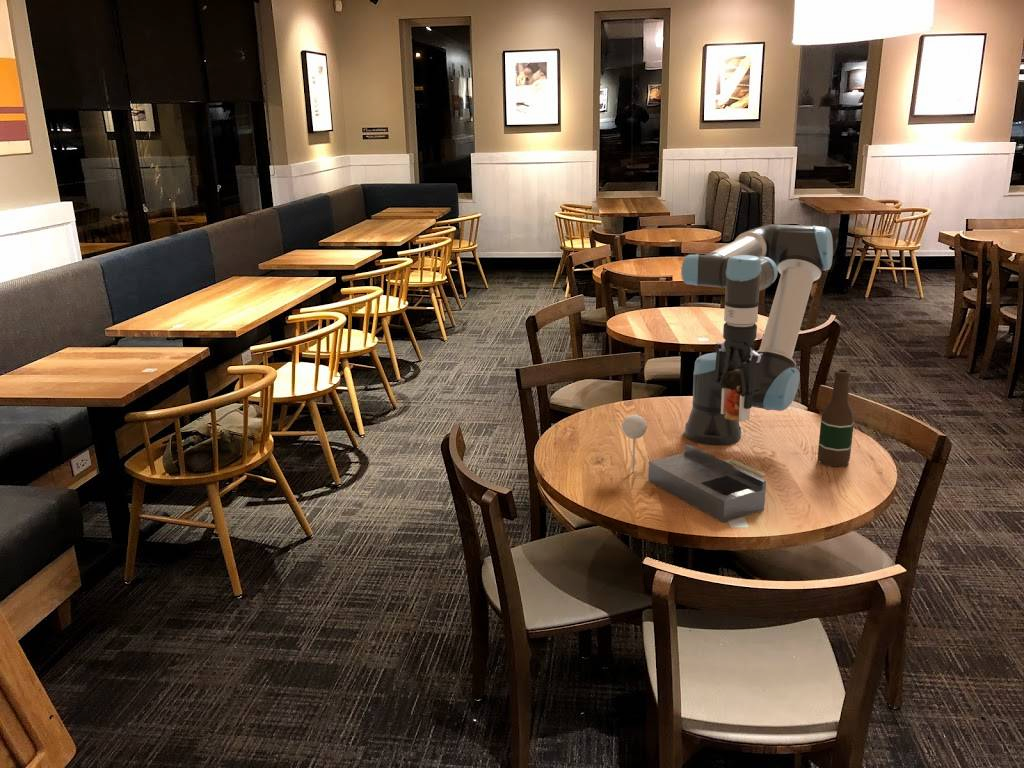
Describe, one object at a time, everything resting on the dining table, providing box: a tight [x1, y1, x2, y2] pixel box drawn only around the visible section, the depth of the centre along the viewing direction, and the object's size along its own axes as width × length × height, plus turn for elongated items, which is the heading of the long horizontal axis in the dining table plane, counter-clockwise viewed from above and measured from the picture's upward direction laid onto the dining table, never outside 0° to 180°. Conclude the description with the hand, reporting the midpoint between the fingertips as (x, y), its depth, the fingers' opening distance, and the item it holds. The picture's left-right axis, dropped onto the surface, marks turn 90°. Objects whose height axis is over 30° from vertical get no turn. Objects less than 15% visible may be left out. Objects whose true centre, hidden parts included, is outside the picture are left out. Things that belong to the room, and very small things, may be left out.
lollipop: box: [621, 414, 648, 473], centre depth 201 cm, size 6×6×15 cm
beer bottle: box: [817, 369, 855, 468], centre depth 203 cm, size 8×8×24 cm
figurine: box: [721, 369, 743, 422], centre depth 195 cm, size 6×6×12 cm
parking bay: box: [724, 458, 766, 478], centre depth 201 cm, size 12×12×1 cm
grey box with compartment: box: [647, 443, 767, 523], centre depth 188 cm, size 26×12×7 cm, turn 29°
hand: (734, 416), depth 197 cm, fingers closed on figurine, 5 cm apart
